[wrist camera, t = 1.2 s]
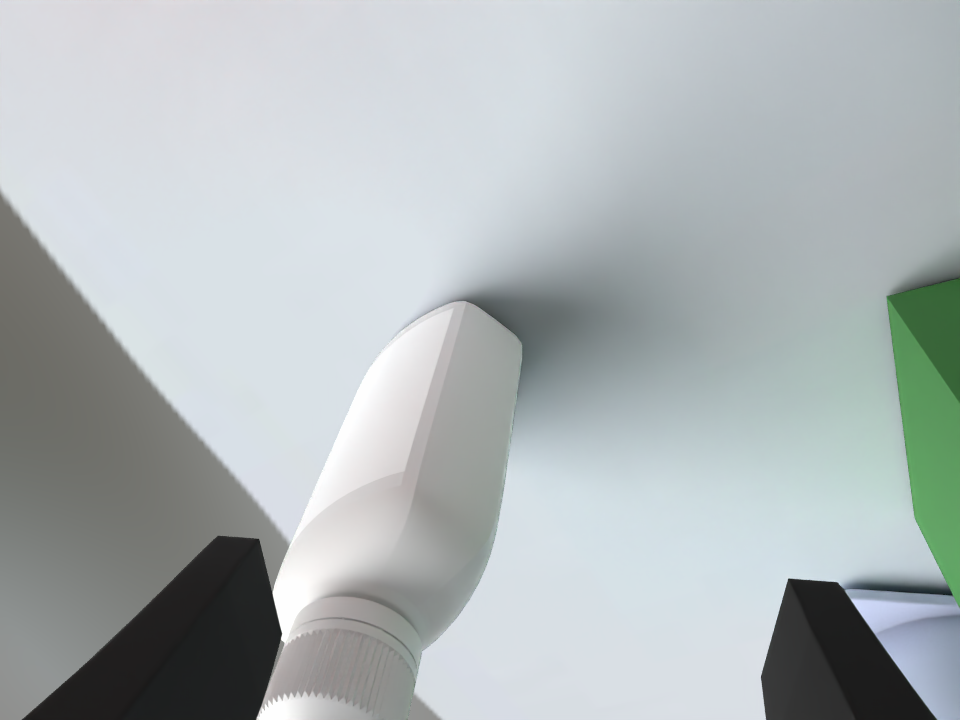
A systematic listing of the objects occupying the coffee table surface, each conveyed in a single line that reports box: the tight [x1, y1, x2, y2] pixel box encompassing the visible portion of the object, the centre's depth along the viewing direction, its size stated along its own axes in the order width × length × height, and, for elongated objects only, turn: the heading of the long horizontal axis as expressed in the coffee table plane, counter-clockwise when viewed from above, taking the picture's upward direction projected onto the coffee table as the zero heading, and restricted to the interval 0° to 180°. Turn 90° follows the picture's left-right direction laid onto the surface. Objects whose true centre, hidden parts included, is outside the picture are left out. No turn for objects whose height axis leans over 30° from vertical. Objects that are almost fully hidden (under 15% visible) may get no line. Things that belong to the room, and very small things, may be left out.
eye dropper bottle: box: [257, 301, 523, 720], centre depth 16 cm, size 4×6×12 cm
